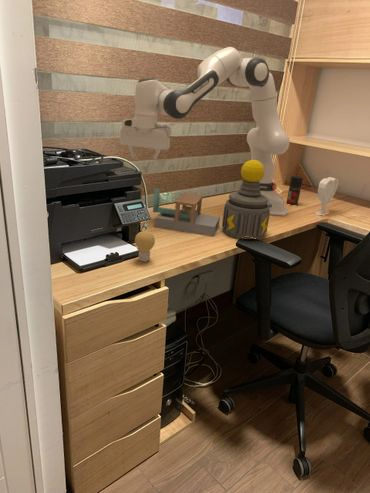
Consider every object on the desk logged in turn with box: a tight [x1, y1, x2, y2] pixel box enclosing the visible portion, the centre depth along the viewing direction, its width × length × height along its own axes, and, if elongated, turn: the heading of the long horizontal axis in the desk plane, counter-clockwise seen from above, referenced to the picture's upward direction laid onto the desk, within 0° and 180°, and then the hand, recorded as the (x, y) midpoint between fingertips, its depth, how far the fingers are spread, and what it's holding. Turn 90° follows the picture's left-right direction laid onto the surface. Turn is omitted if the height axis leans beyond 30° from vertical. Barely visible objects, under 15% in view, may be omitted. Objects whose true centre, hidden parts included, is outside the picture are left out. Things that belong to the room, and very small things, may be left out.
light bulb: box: [134, 230, 156, 262], centre depth 123 cm, size 6×6×10 cm
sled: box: [152, 187, 198, 219], centre depth 157 cm, size 19×7×10 cm, turn 77°
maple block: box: [183, 205, 192, 214], centre depth 157 cm, size 4×4×4 cm
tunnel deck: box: [154, 192, 221, 237], centre depth 157 cm, size 24×14×12 cm, turn 77°
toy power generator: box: [221, 159, 270, 240], centre depth 152 cm, size 19×19×30 cm
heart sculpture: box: [315, 176, 339, 216], centre depth 191 cm, size 16×5×18 cm, turn 137°
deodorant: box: [286, 175, 304, 206], centre depth 202 cm, size 6×6×15 cm
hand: (143, 158), depth 153 cm, fingers open, 8 cm apart
